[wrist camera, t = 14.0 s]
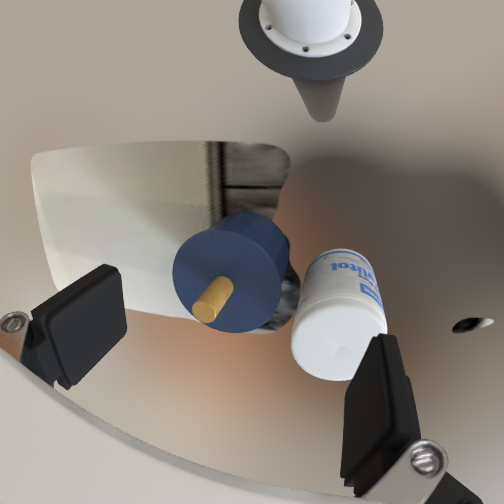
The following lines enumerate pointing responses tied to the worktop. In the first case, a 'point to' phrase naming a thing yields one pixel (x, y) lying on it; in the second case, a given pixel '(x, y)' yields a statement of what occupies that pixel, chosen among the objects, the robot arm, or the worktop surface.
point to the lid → (226, 280)
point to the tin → (259, 235)
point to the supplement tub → (336, 315)
